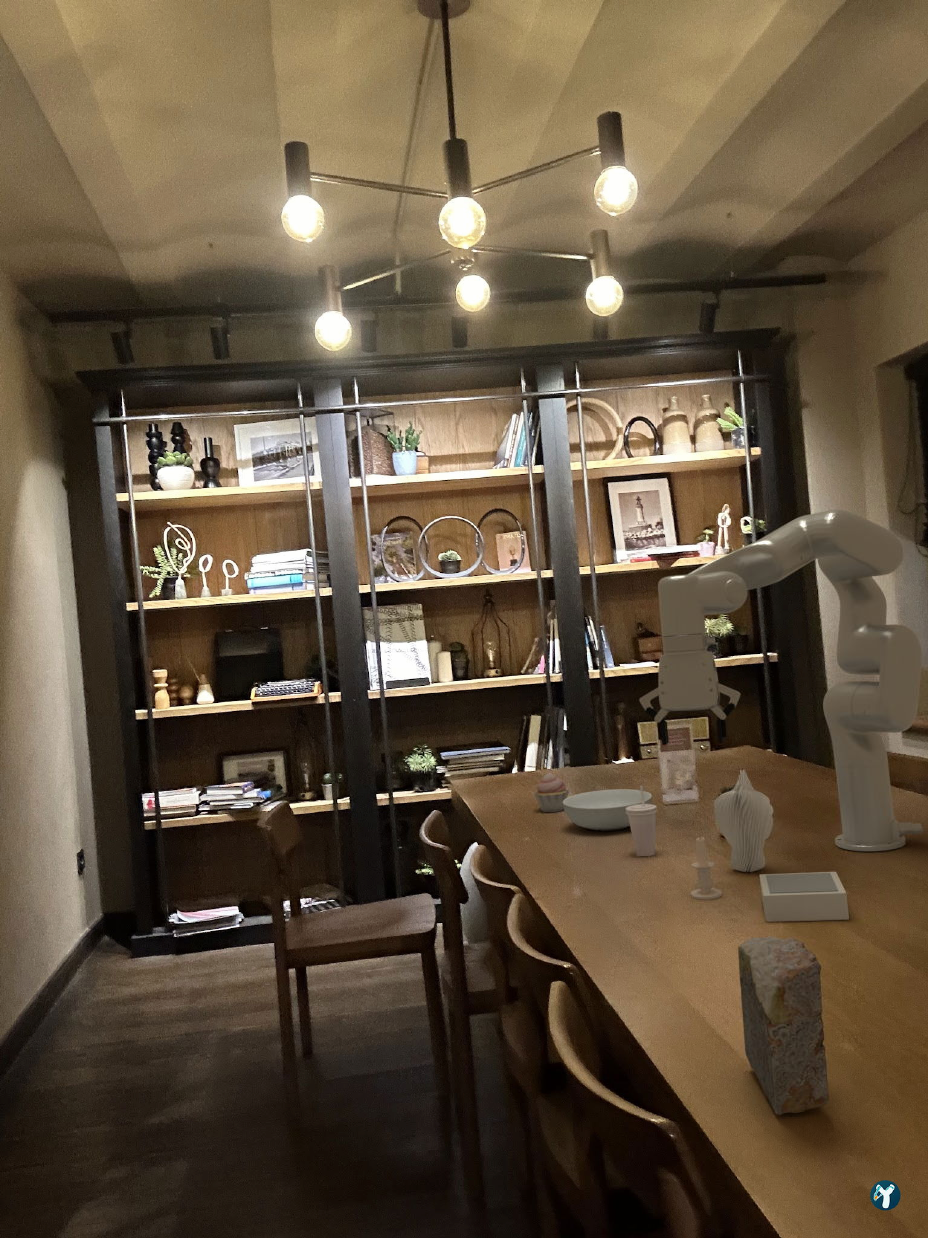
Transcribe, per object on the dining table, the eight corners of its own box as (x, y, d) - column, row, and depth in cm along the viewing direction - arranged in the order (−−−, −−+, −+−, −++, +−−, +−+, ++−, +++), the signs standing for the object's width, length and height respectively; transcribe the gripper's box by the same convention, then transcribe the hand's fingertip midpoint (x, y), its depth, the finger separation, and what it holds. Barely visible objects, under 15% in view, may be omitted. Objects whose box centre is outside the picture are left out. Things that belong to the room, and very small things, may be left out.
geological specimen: (744, 1069, 102) (729, 928, 103) (802, 1063, 102) (787, 922, 102) (773, 1120, 92) (756, 963, 92) (838, 1115, 92) (821, 957, 92)
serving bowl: (554, 838, 221) (551, 808, 221) (579, 818, 240) (576, 790, 240) (644, 836, 213) (641, 805, 213) (662, 816, 232) (659, 787, 232)
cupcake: (577, 806, 254) (573, 769, 255) (561, 814, 247) (557, 775, 247) (546, 806, 259) (542, 769, 260) (529, 813, 252) (525, 775, 252)
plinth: (838, 896, 157) (835, 870, 157) (849, 919, 145) (846, 892, 145) (761, 898, 160) (759, 873, 160) (766, 921, 148) (763, 895, 148)
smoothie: (661, 857, 193) (654, 788, 193) (629, 859, 194) (622, 790, 195) (661, 849, 199) (654, 782, 200) (630, 851, 201) (623, 784, 201)
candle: (716, 901, 161) (709, 839, 161) (686, 899, 164) (680, 838, 164) (725, 892, 166) (719, 831, 166) (696, 890, 169) (690, 831, 169)
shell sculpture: (750, 878, 172) (739, 778, 172) (718, 870, 179) (707, 774, 180) (783, 869, 176) (773, 771, 176) (751, 861, 183) (740, 767, 183)
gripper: (737, 641, 169) (745, 738, 169) (639, 648, 175) (647, 742, 175) (733, 642, 162) (742, 744, 162) (631, 649, 168) (639, 747, 168)
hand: (693, 743), depth 168 cm, fingers open, 9 cm apart
